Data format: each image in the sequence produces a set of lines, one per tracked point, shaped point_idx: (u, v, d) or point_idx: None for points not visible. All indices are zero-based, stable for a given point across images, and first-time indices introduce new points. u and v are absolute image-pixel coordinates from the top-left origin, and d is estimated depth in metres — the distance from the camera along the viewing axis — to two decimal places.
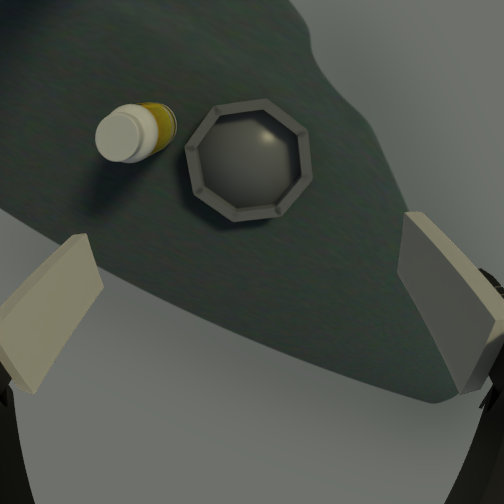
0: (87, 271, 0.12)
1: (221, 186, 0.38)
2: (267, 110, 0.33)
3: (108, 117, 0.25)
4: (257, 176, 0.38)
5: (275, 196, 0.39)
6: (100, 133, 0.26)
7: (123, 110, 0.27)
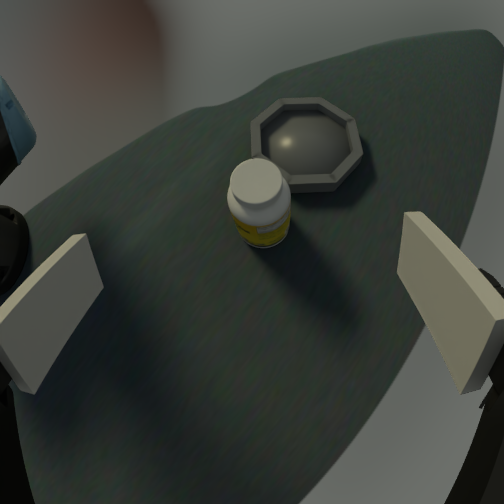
0: (87, 271, 0.12)
1: (330, 165, 0.39)
2: (261, 121, 0.40)
3: (232, 185, 0.28)
4: (320, 137, 0.40)
5: (338, 127, 0.41)
6: (246, 195, 0.28)
7: (231, 190, 0.30)
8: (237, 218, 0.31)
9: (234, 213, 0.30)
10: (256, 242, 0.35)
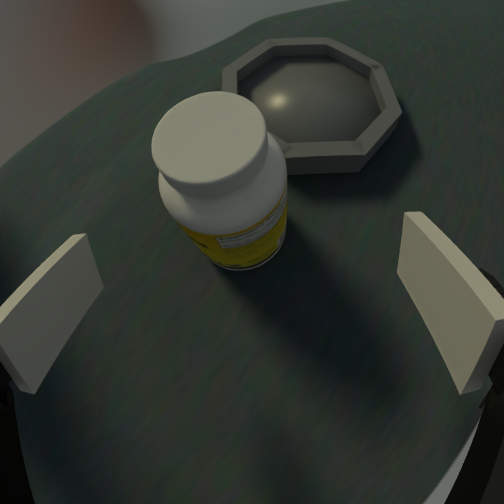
0: (87, 271, 0.12)
1: (351, 130, 0.23)
2: (238, 68, 0.24)
3: (154, 147, 0.12)
4: (332, 90, 0.24)
5: (358, 77, 0.24)
6: (182, 167, 0.12)
7: None
8: (176, 219, 0.15)
9: (169, 209, 0.14)
10: (224, 262, 0.19)
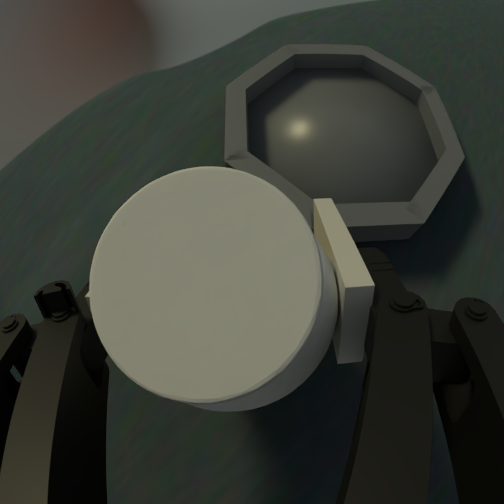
0: None
1: (400, 180, 0.17)
2: (248, 84, 0.18)
3: (94, 298, 0.06)
4: (374, 119, 0.18)
5: (403, 101, 0.18)
6: (149, 358, 0.05)
7: None
8: None
9: None
10: None
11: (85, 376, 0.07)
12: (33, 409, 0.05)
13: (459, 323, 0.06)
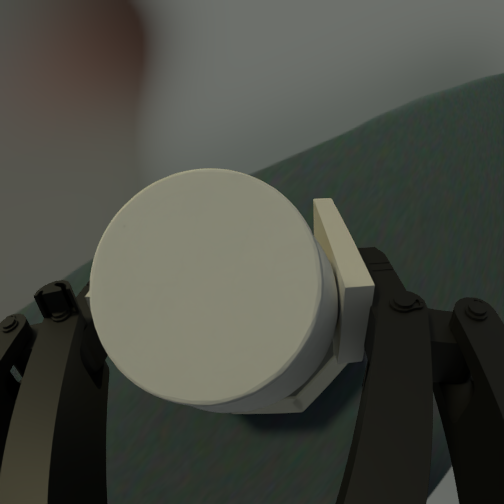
0: None
1: None
2: None
3: (94, 300, 0.06)
4: None
5: None
6: (149, 361, 0.05)
7: None
8: None
9: None
10: None
11: (85, 376, 0.07)
12: (33, 409, 0.05)
13: (459, 323, 0.06)
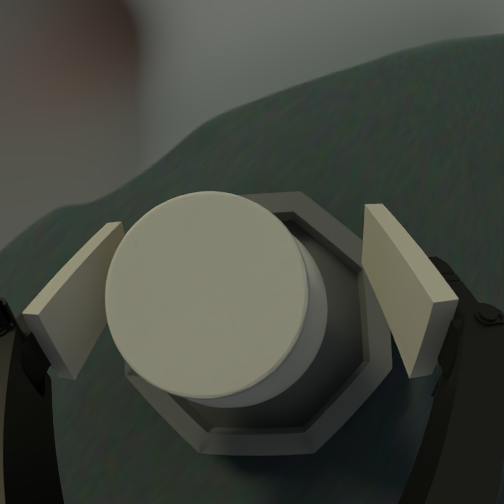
0: None
1: (308, 390, 0.16)
2: None
3: (110, 308, 0.07)
4: None
5: (339, 274, 0.18)
6: (159, 360, 0.06)
7: None
8: None
9: None
10: None
11: (28, 384, 0.06)
12: None
13: None
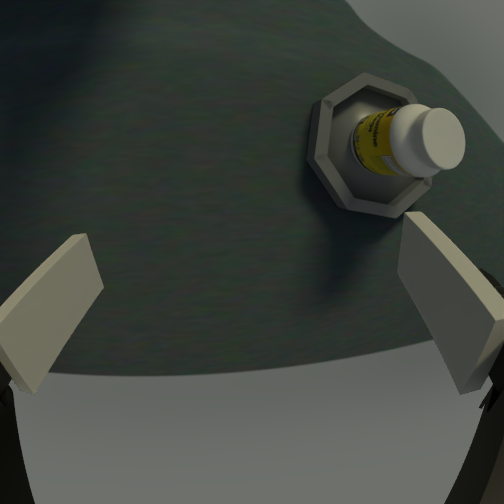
0: (87, 271, 0.12)
1: (364, 188, 0.31)
2: (371, 84, 0.27)
3: (429, 115, 0.19)
4: None
5: None
6: (429, 138, 0.19)
7: (414, 111, 0.21)
8: (390, 131, 0.22)
9: (394, 125, 0.21)
10: (363, 152, 0.27)
11: None
12: None
13: None
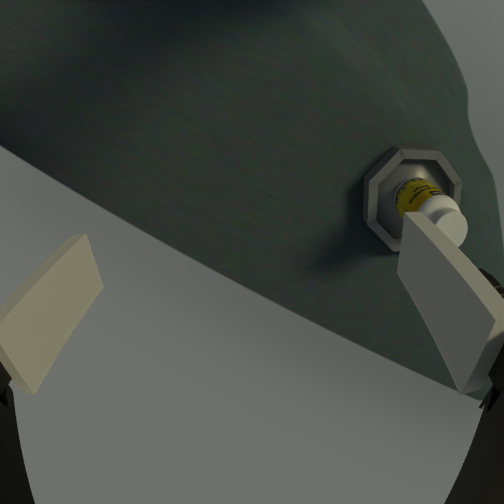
0: (87, 271, 0.12)
1: (386, 218, 0.40)
2: (438, 161, 0.35)
3: (450, 214, 0.28)
4: None
5: None
6: (440, 225, 0.29)
7: (446, 203, 0.30)
8: (423, 203, 0.31)
9: (428, 202, 0.31)
10: (400, 199, 0.36)
11: None
12: None
13: None
